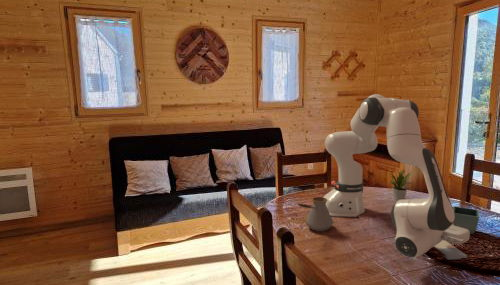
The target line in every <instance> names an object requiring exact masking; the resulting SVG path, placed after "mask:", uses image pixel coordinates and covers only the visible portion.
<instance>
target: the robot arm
mask: <svg viewBox="0 0 500 285" xmlns="http://www.w3.org/2000/svg"><path fill="white" fill-rule="evenodd" d="M419 113H420V112H419V107H418V105H417V103H415V102H414V101H412V100H409V99H400V98H395V97H386V96H384V95H382V94H377V93H376V94H375V93H374V94H371V95H369V96H368V97H367V98H364V99H363V100H362V102H361V103H360V105H359V107H358V109H357V110H356V112H355V114H354V115H353V117H352V118H351V120H350V129H351V130H345V131H336V132H333V133H332V132H331V133H330V134H328V135H327V136H326V138H325V140H324V147H325V149H326V151H327V152H328V154H330V155H331V156H332V157H334V159H335V161H336V163H337V169H338V180H337V181H335V180H332V181H331V185H332V186H334V188H333V189H332V190H331V191H329V192H327V193H326V194H324V196H323V198H326V199H327V202H326V206H327V209H328V211H329V214H330V216H331V217H349V218H350V217H353V218H354V217H357V218H358V217H359V216H360V215H361V214H364V213H365V212H366V209H365V206H364V201H363V193H364V182H363V172H364V171H363V166H362V164H360V163H359V162H357V161H356V160H354V157H353V155H356V154H359V155H360V154H366V153H370V152H373V151H375V150H376V149H377V147H378V144H379V142H378V141H379V140H378V136H377V134H376V133H375V132H376V130H377V129H378V128H379V127H383V128H384V127H385V129H386V130H385V131H386V148H387V150H388V154H389V155H390V157H391V159H394V160H395V161H397V162H399V163H401V164H405V165H410V166H413V167H416V168H418V169H419V170H420V171H421V172H422V174H423V177H424V181H425V185H426V187H427V189H426V190H427V191H428V197H427V198H426V197H425V198H405V199H403V200H398V201H395V203H394V204H393V206H392V208H391V211H390V216H391V217H390V218H391V223H392V225H393V227H394V228H395V230H396V236H395V238H394V246H395V248H396V250H397V251H398V252H399V253H401V255H403V256H405V257H408V258H417V257H420V256H422V255H424V254H425V253H426V254H427V252H429V251H430V249H432V248H435V247H434V246H435V245H437V244H438V243H440V242H441V241H442V240H445V241H447V242H448V243H450V244H451V243H452V244H455V245H456V244H457V245H461V244H464V243H466V242H468V241H469V240H470V236H471V233H470V231H469V230H468V229H465V228H461V227H458V226H454V221H455V214H454V210H453V207H454V206H453V205H452V202H451V200H450V198H449V196H448V192H447V190H446V186H445V183H444V180H443V176H442V174H441V170H440V168H439V164H438V162H437V158H436V157H435V155H434V153H433V151H432V150H431V149H429V148H426V146H425V145H424V143H423V141H422V140H423V139H422V134H421V128H420V127H421V126H420V123H419V120H418V118H419Z"/></svg>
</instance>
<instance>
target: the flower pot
mask: <svg viewBox="0 0 500 285" xmlns="http://www.w3.org/2000/svg"><path fill="white" fill-rule="evenodd" d="M452 207H453V210H454V214H455V221H454V226H458V227H461V228H465V229H468V230H469V231H470V235H471V234H472V235H473V234H474V233H475V232H476V230H477V228H478V223H479V219H480V212H479V211H480V210H478V209H474V208H469V207H462V206H454V205H453V206H452Z"/></svg>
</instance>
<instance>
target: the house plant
mask: <svg viewBox="0 0 500 285" xmlns="http://www.w3.org/2000/svg"><path fill="white" fill-rule="evenodd" d="M397 171H398V176H397V177H396V176H395V175H394V173H392V172H391V171H389V173H390V174H389V176H391V177H392V181H391V180H389V182H388V183H389V184H390V183H391V184H392V185H393V186H392V189H391V190H392V196H393V197H392V198H393V200H394V201H395V202H396V201H398V200H403V199H406V197H407V196H406V194H407V191H408V188H407V186H408V185H410V184H412V185H413V182H410V183H408V180H409V179H410V177H412V173H413V171H411V172H409V173H407V174H406V175H404V171H403V170H400V171H399V170H397Z"/></svg>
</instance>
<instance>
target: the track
mask: <svg viewBox="0 0 500 285" xmlns="http://www.w3.org/2000/svg"><path fill="white" fill-rule="evenodd" d="M433 248H436V249H437V251H440V252H441V253H442V254H444V255H443V257H444V259H447V260H449V261H451V260H462V259H461V258H467V259H468V255H467V254H465V253H464V252H463V251H462V250H460V249H459V248H457V247H455V246H454V245H453V244H451V242H448V241H445V240H442V241H441V242H440V243H438V244H437V245H435V246H434V247H433Z"/></svg>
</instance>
